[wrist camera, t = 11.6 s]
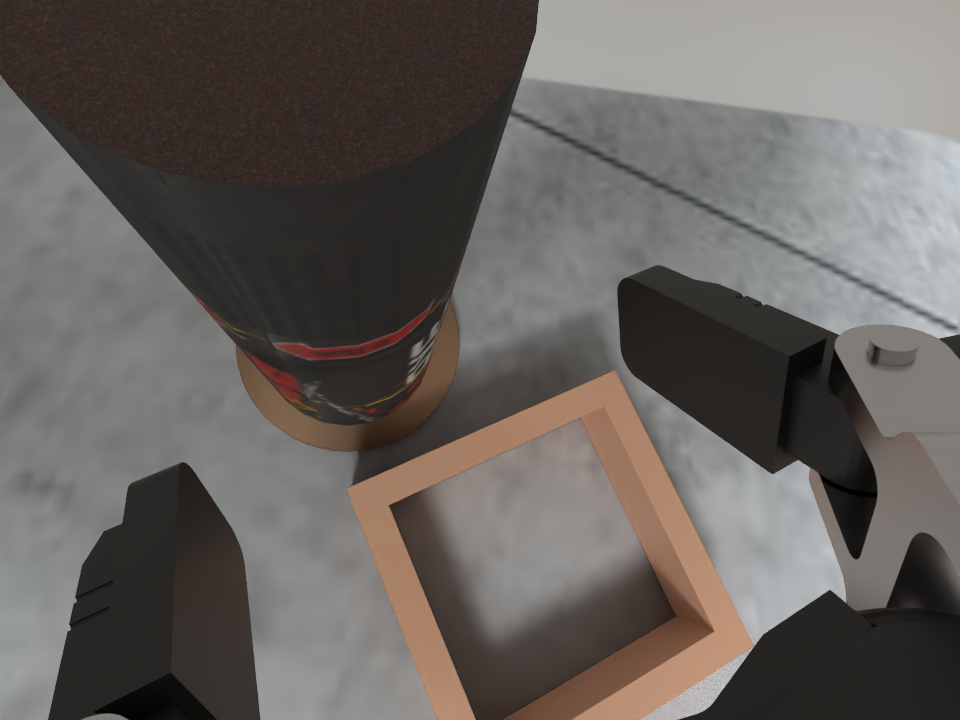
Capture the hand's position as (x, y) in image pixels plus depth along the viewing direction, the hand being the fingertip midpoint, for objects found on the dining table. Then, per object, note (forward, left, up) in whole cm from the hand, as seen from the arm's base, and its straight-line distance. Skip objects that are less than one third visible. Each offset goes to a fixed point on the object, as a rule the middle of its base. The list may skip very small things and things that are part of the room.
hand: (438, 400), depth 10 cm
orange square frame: (+3, -5, -11) cm, 12 cm away
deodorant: (-1, +5, -10) cm, 11 cm away
